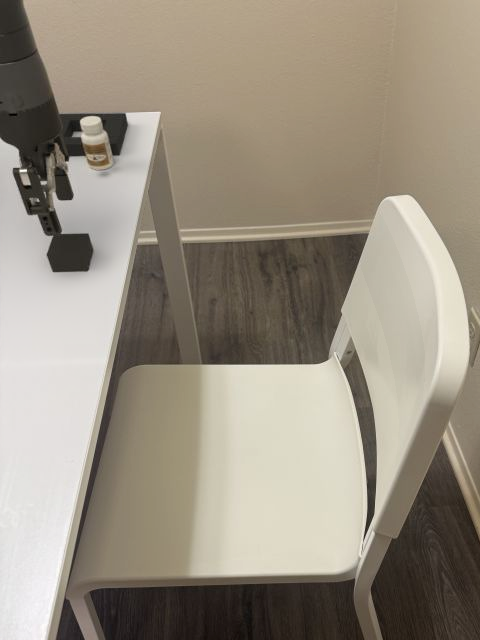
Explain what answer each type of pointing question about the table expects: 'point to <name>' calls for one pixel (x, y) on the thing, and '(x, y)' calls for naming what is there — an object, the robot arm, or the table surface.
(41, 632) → the table surface
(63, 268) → the small pad
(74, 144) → the base pad
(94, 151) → the pill bottle
